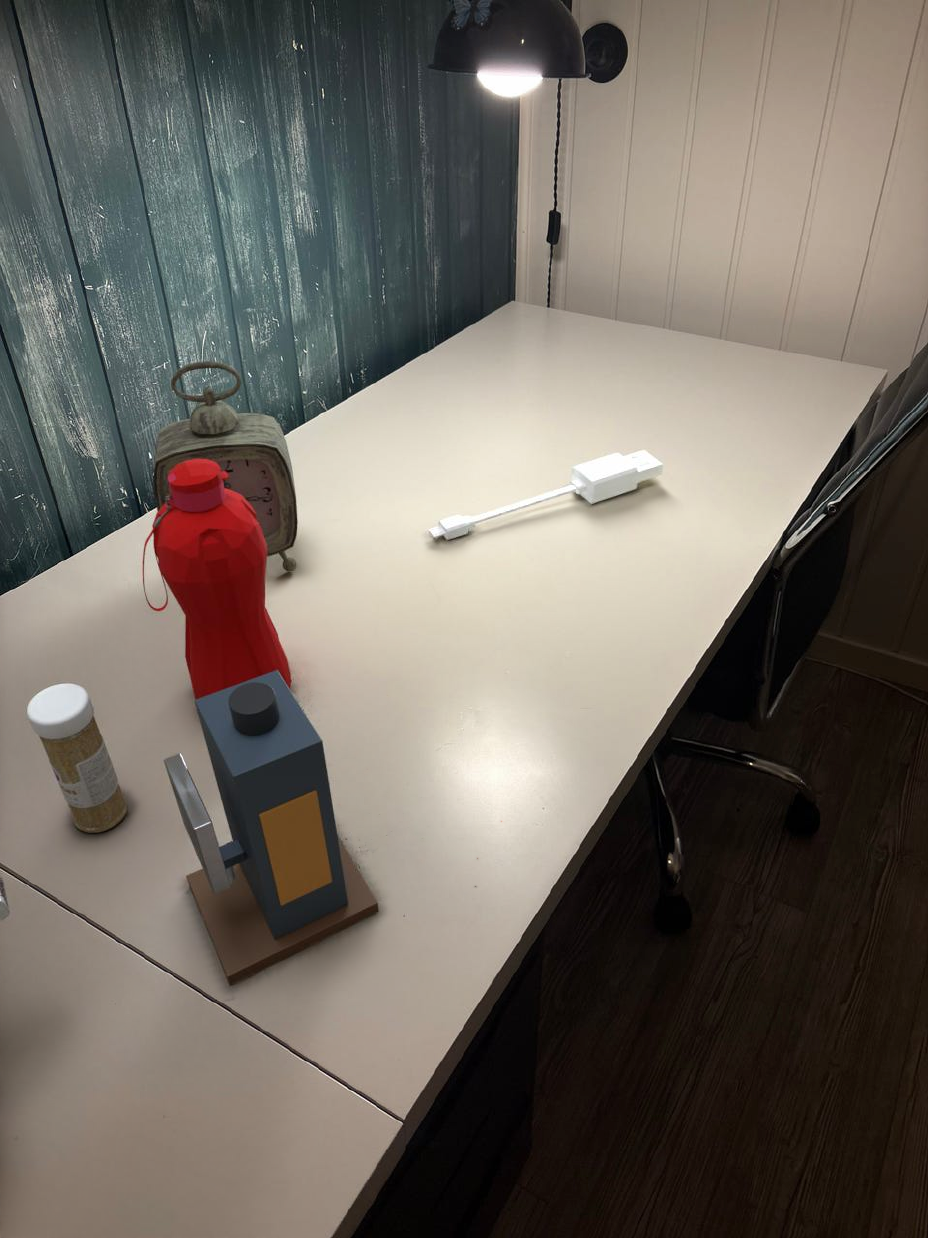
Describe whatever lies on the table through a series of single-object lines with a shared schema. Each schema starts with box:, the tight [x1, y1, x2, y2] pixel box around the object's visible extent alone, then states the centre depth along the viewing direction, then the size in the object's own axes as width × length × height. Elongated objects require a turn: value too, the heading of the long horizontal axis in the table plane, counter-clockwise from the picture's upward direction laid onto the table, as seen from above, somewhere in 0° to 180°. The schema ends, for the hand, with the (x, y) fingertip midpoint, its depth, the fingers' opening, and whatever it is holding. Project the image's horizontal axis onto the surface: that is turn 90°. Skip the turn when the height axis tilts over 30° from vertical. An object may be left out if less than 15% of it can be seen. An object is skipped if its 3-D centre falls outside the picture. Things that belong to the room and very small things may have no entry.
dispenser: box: [185, 670, 380, 986], centre depth 65 cm, size 12×10×21 cm
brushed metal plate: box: [163, 753, 231, 894], centre depth 63 cm, size 1×7×7 cm, turn 30°
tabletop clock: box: [152, 360, 299, 573], centre depth 100 cm, size 14×9×25 cm, turn 102°
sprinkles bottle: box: [26, 683, 128, 834], centre depth 75 cm, size 5×5×13 cm
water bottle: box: [142, 459, 293, 701], centre depth 83 cm, size 9×11×25 cm
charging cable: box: [427, 449, 664, 541], centre depth 116 cm, size 5×32×3 cm, turn 117°
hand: (3, 890), depth 57 cm, fingers closed
